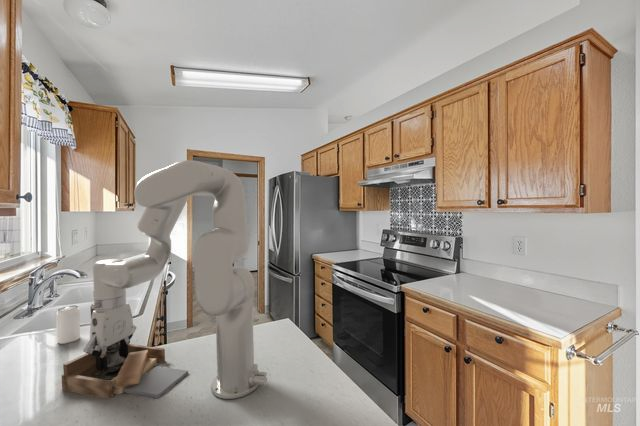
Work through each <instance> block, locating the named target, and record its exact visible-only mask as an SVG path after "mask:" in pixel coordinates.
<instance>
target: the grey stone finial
mask: <svg viewBox="0 0 640 426" xmlns="http://www.w3.org/2000/svg"><path fill="white" fill-rule="evenodd" d="M119 348H120V346H118V342H117V343H115V344H113V345H111V346H108V347H107V349H106V356H107V370H106V371H103V372H104V373H103V374H102V376H101V377H102V378H101V379H103V380H110V379H111V380H112V379H113V378H115V377H116V376H117V375H118V373H119V371H120V370H121V368H122V366H123V364H124V362H125V360H126V359H125V357H122V356H120V355H119Z"/></svg>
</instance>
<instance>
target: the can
mask: <svg viewBox="0 0 640 426" xmlns="http://www.w3.org/2000/svg"><path fill="white" fill-rule="evenodd" d="M78 307H79V306H78V305H66V306H63V307H61V308H60V307H59V308H58V309H57V312H56V314H55V315H56V316H55V317H56V320H55V321H56V339H57V343H58V344H59V345H64V344H70V343H74V342H76V341H78V340H79V339H80V338H81V317H80V309H79V308H78Z"/></svg>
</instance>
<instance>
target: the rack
mask: <svg viewBox="0 0 640 426" xmlns="http://www.w3.org/2000/svg"><path fill="white" fill-rule="evenodd" d="M119 344H120V343H119V342H118V345H119ZM94 350H95V349H94ZM144 350H148V358H156V360H157V363H161V364H162V363H165V361H166V355H165V354H166V352H165V351H166V350H165V348H163V347H157V346H156V347H155V346H148V345H142V344H141V345H140V344H132V343H129V344H128V354H129V353H132V352H138V351H144ZM100 352H101V348H100ZM105 356H106V353H105ZM62 366H63V374H61V390H62V391H66V392H72V393H77V394H81V395H86V396H90V397H91V396H92V397H96V398H102V399H107V400H110V399H111V398H113V397H114V395H113V394H114V393H113V391H112V381H111V380H110V379H103V378H97V377H96V378H95V376H97V375H98V374H101V373H102V372H103V371H100V370H97V368H96V357H93V356H92V355H90V354H88V353H86V352H85V353H84V354H82V355H80V356H78V357H76V358H73V359H72V360H70V361H68V362H66V363H63V364H62Z"/></svg>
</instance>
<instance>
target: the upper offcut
mask: <svg viewBox="0 0 640 426" xmlns="http://www.w3.org/2000/svg"><path fill="white" fill-rule="evenodd" d="M147 360H148V350H144V351H138V352H132V353H129V354H128V356H127V358H126V359H125V361H124V364H123V366H122V367H121V370H120V371H119V373H118V375H117V377H116V388H119V387H124V386H129V385H134V384H138V383H139V381H140V378H141V376H142V373H143V370H144V368H145V365H146V362H147Z"/></svg>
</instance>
